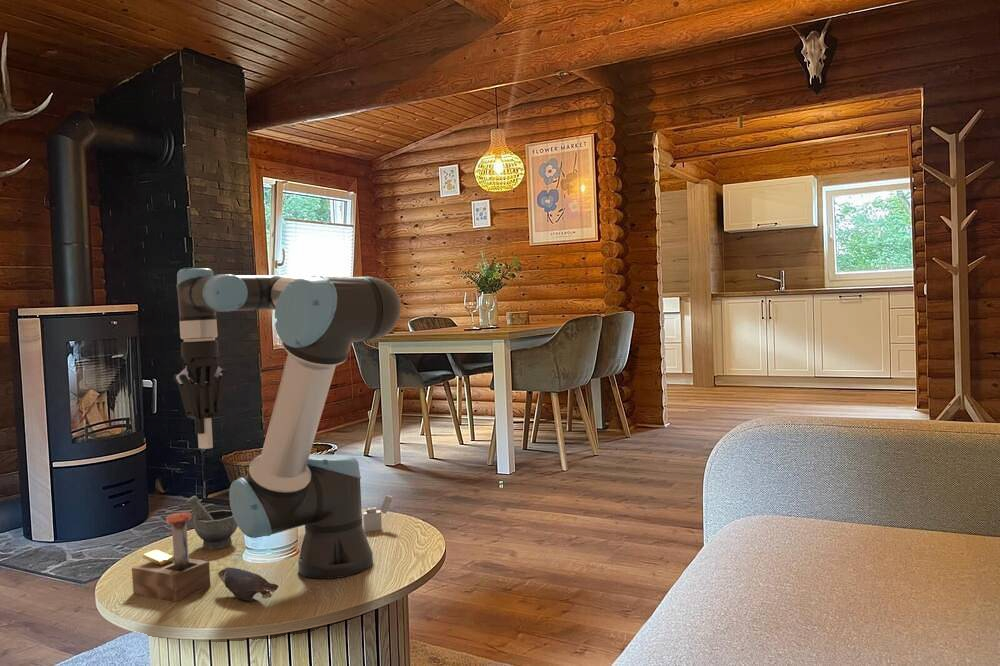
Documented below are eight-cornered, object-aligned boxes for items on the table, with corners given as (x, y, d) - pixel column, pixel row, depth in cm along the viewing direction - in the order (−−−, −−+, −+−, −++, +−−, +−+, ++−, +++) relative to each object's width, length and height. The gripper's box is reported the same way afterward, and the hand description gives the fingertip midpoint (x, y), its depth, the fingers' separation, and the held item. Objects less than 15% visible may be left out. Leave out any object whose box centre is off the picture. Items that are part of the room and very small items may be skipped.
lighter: (364, 532, 182) (363, 498, 182) (363, 530, 184) (362, 497, 183) (394, 528, 184) (392, 495, 184) (393, 526, 186) (391, 493, 185)
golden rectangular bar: (174, 561, 150) (175, 557, 150) (161, 566, 148) (161, 562, 147) (156, 553, 153) (156, 549, 153) (142, 558, 150) (142, 554, 150)
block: (210, 586, 150) (209, 561, 150) (176, 601, 143) (175, 575, 142) (167, 579, 155) (166, 554, 155) (133, 593, 148) (131, 567, 148)
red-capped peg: (200, 589, 148) (195, 513, 148) (182, 597, 144) (177, 519, 144) (184, 586, 150) (179, 511, 150) (166, 594, 146) (161, 517, 146)
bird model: (266, 610, 136) (264, 583, 136) (208, 594, 146) (207, 568, 145) (285, 602, 140) (284, 575, 140) (228, 586, 149) (227, 561, 149)
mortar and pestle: (240, 536, 183) (238, 487, 182) (238, 548, 174) (235, 496, 173) (190, 542, 180) (187, 492, 179) (185, 554, 171) (182, 501, 170)
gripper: (210, 338, 173) (216, 441, 174) (162, 342, 161) (168, 452, 162) (234, 337, 170) (240, 443, 171) (187, 341, 158) (194, 454, 159)
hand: (205, 447), depth 166 cm, fingers closed
